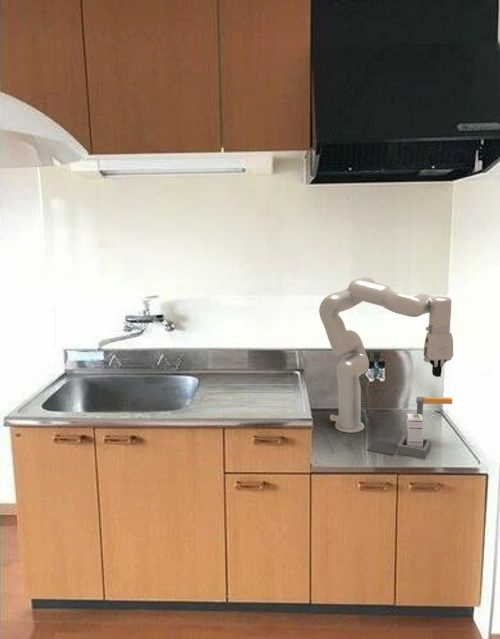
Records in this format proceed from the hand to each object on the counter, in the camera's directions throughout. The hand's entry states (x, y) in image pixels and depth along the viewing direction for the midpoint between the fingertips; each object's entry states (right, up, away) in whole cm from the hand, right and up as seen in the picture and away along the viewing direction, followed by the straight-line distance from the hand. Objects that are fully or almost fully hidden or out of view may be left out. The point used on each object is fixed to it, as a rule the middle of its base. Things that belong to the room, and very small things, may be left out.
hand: (436, 375), depth 191 cm
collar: (-8, -30, +3) cm, 31 cm away
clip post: (-3, -28, +11) cm, 30 cm away
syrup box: (-8, -30, +3) cm, 31 cm away
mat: (-19, -30, +7) cm, 36 cm away
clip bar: (+2, -12, +7) cm, 14 cm away
